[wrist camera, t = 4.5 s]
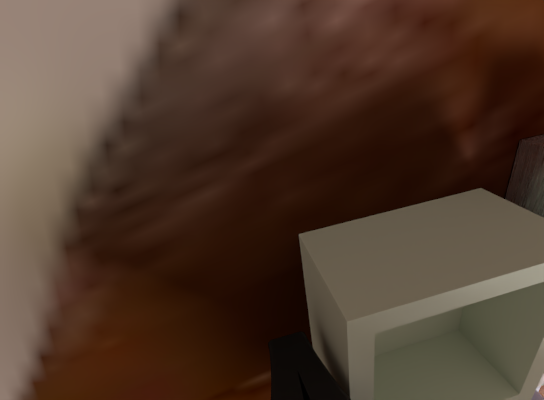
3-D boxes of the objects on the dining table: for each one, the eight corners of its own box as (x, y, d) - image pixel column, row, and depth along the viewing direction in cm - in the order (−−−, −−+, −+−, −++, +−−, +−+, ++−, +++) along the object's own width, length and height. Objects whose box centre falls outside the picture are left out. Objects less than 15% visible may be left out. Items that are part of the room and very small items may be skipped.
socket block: (454, 319, 15) (531, 399, 12) (314, 362, 14) (352, 464, 11) (481, 188, 12) (602, 245, 8) (298, 234, 11) (347, 321, 7)
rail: (502, 326, 16) (560, 379, 14) (470, 336, 16) (523, 392, 13) (565, 129, 11) (677, 152, 9) (519, 139, 11) (621, 166, 8)
